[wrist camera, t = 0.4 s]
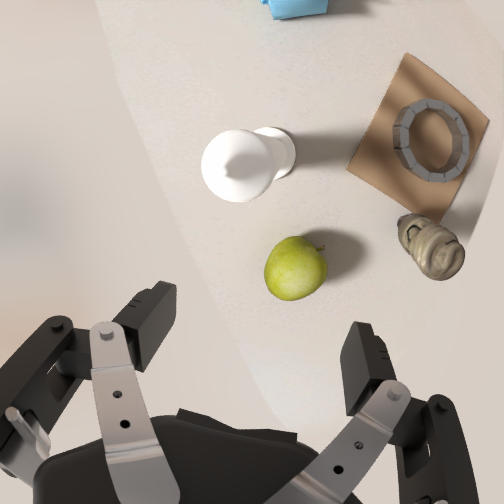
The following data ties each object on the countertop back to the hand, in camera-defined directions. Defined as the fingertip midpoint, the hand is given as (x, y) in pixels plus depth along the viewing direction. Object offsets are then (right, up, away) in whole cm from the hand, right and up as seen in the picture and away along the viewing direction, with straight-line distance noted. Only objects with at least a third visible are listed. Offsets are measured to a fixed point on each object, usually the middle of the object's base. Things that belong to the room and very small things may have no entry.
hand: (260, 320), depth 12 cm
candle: (+2, +16, +24) cm, 29 cm away
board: (+23, +18, +20) cm, 36 cm away
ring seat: (+23, +18, +20) cm, 36 cm away
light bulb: (+21, +7, +25) cm, 33 cm away
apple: (+6, +3, +29) cm, 30 cm away
